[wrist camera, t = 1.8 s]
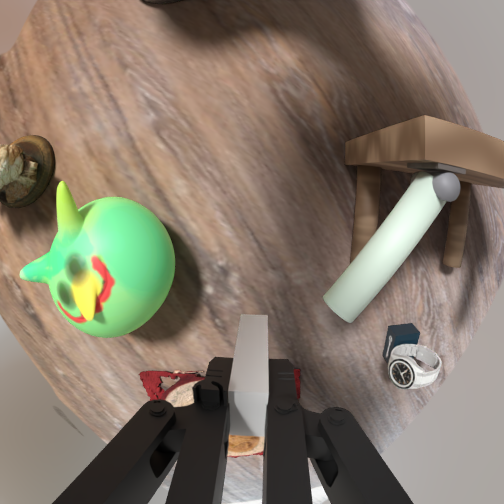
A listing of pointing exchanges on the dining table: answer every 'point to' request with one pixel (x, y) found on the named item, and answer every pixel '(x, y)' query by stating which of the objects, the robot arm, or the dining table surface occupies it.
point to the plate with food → (183, 396)
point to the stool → (423, 159)
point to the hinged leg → (391, 243)
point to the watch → (408, 358)
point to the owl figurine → (25, 170)
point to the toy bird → (106, 264)
